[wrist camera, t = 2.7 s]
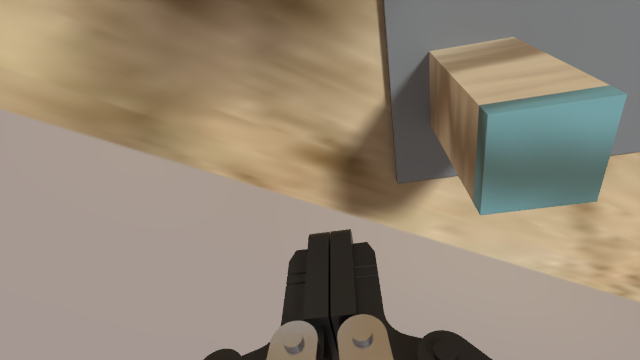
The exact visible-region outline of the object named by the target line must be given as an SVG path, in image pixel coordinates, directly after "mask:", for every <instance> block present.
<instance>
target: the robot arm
mask: <svg viewBox="0 0 640 360" xmlns="http://www.w3.org/2000/svg"><path fill="white" fill-rule="evenodd" d="M286 284H287V286H286V292H285V299H284V307H283V314H282V322H281V327H280V328H279V329H278V330H277V331H276V332H275V333H274V335H273V337H272V339H271V342H269V343H268V344H267V345H265V346H264V347H262V348H260V349H258V350H255V351H253V352H250V353H248V354H246V355H243V356H241V355H240V354H239V353H238V352H236V351H235V350H232V349H221V350H218V351H215V352H213V353H212V354H210V355H208V356H207V357H206V358H205V359H204V360H492V359H491V358H489V357H488V356H487V355H485V354H484V353H482V352H481V351H480V350H479V349H477V348H476V347H474V346H473V345H472V344H470V343H469V342H468V341H466V340H465V339H464V338H462V337H461V336H459V335H457V334H455V333H453V332H449V331H443V330H441V331H434V332H431V333H429V334H427V335H425V336H424V337H423V338H417V337H413V336H409V335H405V334H402V333H400V332H398V331H397V330H395V329H394V328H392V327H391V326H390V324H389V323H388V322H387V320H386V318H385V315H384V310H383V304H382V297H381V291H380V284H379V277H378V271H377V264H376V257H375V252H374V250H373V249H372V248H371V247H370V245H369V244H368V243H367V242H364V243H356V244H353V239H352V233H351V229H349V230H341V231H333V232H331V233H329V232H326V233H317V234H310V235H309V239H308V249H306V250H297V251H296V252H295V254H294V255H293V257H292V258H291V260H290V262H289V268H288V276H287V283H286Z"/></svg>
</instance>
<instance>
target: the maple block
mask: <svg viewBox="0 0 640 360" xmlns="http://www.w3.org/2000/svg"><path fill="white" fill-rule="evenodd" d="M429 70H430V125H431V127H432V129H433V131H434V132H435V134H436V136H437V138H438V140H439V141H440V143H441V145H442V147H443V149H444V151H445V152H446V154H447V156H448V158H449V160H450V161H451V163H452V165H453V167H454V169H455V170H456V172H457V174H458V176H459V178H460V179H461V181H462V183H463V185H464V187H465V188H466V190H467V192H468V194H469V196H470V198H471V199H472V201H473V203H474V205H475V207H476V208H477V210H478V212H479V214H480V215H486V214H495V213H503V212H512V211H520V210H528V209H537V208H545V207H554V206H562V205H571V204H579V203H588V202H596V201H597V199H598V195H599V192H600V188H601V185H602V181H603V178H604V174H605V171H606V167H607V164H608V160H609V157H610V153H611V150H612V146H613V143H614V139H615V136H616V132H617V129H618V125H619V122H620V118H621V115H622V111H623V108H624V104H625V101H626V97H627V93H625V92H623V91H621V90H619V89H617V88H615V87H613V86H611V85H609V84H607V83H605V82H603V81H601V80H599V79H597V78H595V77H593V76H591V75H589V74H587V73H585V72H583V71H581V70H579V69H577V68H575V67H573V66H571V65H569V64H567V63H565V62H563V61H561V60H559V59H557V58H555V57H553V56H551V55H549V54H547V53H545V52H543V51H541V50H539V49H537V48H535V47H533V46H531V45H529V44H527V43H525V42H523V41H521V40H519V39H517V38H515V37H510V38H504V39H498V40H492V41H486V42H481V43H475V44H469V45H463V46H457V47H451V48H446V49H440V50H434V51H429Z"/></svg>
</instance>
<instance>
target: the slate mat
mask: <svg viewBox="0 0 640 360" xmlns="http://www.w3.org/2000/svg"><path fill="white" fill-rule="evenodd" d="M383 4H384V17H385V31H386V44H387V57H388V70H389V83H390V96H391V110H392V123H393V136H394V149H395V162H396V175H397V182H398V183H405V182H413V181H421V180H428V179H436V178H444V177H451V176H458V174H457V172H456V170H455V169H454V167H453V165H452V163H451V161H450V160H449V158H448V156H447V154H446V152H445V151H444V149H443V147H442V145H441V143H440V141H439V140H438V138H437V136H436V134H435V132H434V131H433V129H432V127H431V125H430V70H429V51H434V50H440V49H446V48H451V47H457V46H463V45H469V44H475V43H481V42H486V41H492V40H498V39H504V38H510V37H515V38H517V39H519V40H521V41H523V42H525V43H527V44H529V45H531V46H533V47H535V48H537V49H539V50H541V51H543V52H545V53H547V54H549V55H551V56H553V57H555V58H557V59H559V60H561V61H563V62H565V63H567V64H569V65H571V66H573V67H575V68H577V69H579V70H581V71H583V72H585V73H587V74H589V75H591V76H593V77H595V78H597V79H599V80H601V81H603V82H605V83H607V84H609V85H611V86H613V87H615V88H617V89H619V90H621V91H623V92H625V93H627V97H626V101H625V104H624V108H623V111H622V115H621V118H620V122H619V125H618V129H617V132H616V136H615V139H614V143H613V146H612V150H611V153H610V156H611V155H619V154H626V153H634V152H640V0H383Z"/></svg>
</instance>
